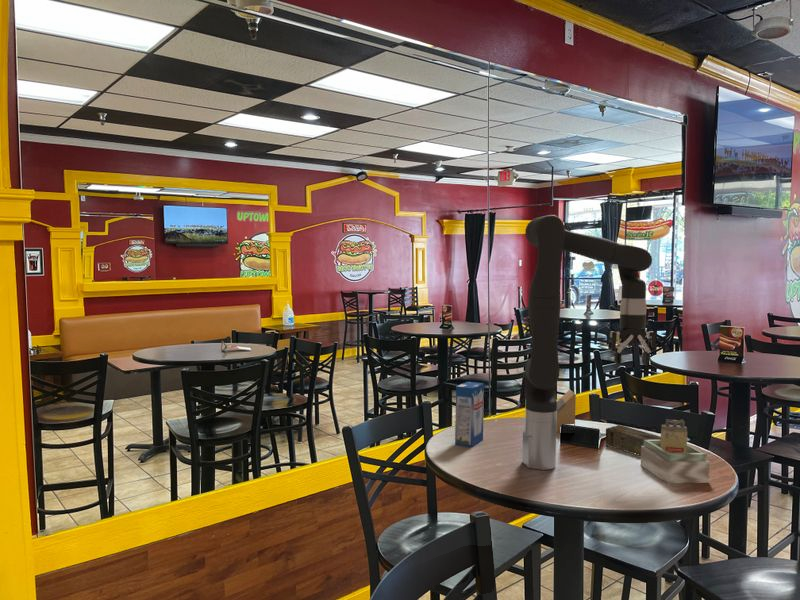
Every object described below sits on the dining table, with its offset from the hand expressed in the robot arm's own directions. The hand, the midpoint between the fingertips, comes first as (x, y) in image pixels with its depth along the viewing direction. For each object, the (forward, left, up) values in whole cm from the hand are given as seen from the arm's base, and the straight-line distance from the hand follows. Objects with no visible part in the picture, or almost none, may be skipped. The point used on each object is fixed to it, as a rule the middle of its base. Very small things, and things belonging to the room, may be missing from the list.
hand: (631, 364), depth 175 cm
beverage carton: (+7, +9, -31) cm, 33 cm away
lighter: (+7, -13, -24) cm, 28 cm away
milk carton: (-47, +20, -30) cm, 59 cm away
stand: (+7, -13, -30) cm, 34 cm away
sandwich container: (-13, +34, -30) cm, 47 cm away
